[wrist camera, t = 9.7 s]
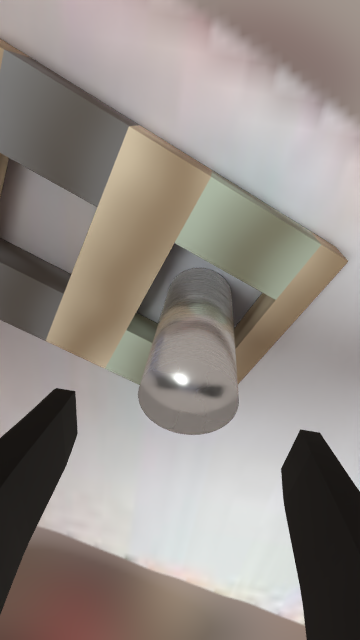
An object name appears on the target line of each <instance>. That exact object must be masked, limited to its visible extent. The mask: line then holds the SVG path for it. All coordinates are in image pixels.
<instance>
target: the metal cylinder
mask: <svg viewBox="0 0 360 640" xmlns="http://www.w3.org/2000/svg"><path fill="white" fill-rule="evenodd" d="M138 398H139V403H140V406H141V408H142V410H143V411H144V413H145V414H146V415H147V416H148V417H149V419H151V420H152V421H153V422H154V423H156V424H157V425H159V426H160V427H162V428H164V429H167V430H169V431H172V432H176V433H180V434H187V435H199V434H206V433H210V432H213V431H216V430H218V429H220V428H222V427H223V426H225V425H226V424H227V423H229V422H230V421H231V420H232V418H233V417H234V415H235V414H236V412H237V409H238V404H239V397H238V382H237V367H236V353H235V338H234V323H233V308H232V294H231V289H230V287H229V284H228V283H227V281H226V280H225V279H224V278H223V277H222V276H221V275H220V274H218V273H217V272H215V271H213V270H210V269H206V268H192V269H188V270H186V271H183V272H182V273H180V274H179V275H177V276H176V277H175V278H174V280H173V281H172V282H171V284H170V287H169V290H168V293H167V296H166V300H165V303H164V306H163V310H162V313H161V316H160V320H159V323H158V326H157V330H156V333H155V336H154V340H153V343H152V346H151V350H150V353H149V356H148V360H147V363H146V366H145V370H144V373H143V376H142V380H141V383H140V386H139V391H138Z"/></svg>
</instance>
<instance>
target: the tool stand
mask: <svg viewBox="0 0 360 640" xmlns="http://www.w3.org/2000/svg"><path fill="white" fill-rule="evenodd" d="M9 158H10V159H12V160H14V161H16V162H17V163H19V164H21V165H23V166H25V167H26V168H28V169H30V170H32V171H33V172H35V173H37V174H39V175H41V176H42V177H44V178H46V179H48V180H50V181H51V182H53V183H55V184H57V185H59V186H60V187H62V188H64V189H66V190H68V191H69V192H71V193H73V194H75V195H76V196H78V197H80V198H82V199H84V200H85V201H87V202H89V203H91V204H93V205H94V206H96V207H97V210H96V212H95V215H94V218H93V220H92V223H91V225H90V228H89V230H88V233H87V236H86V238H85V241H84V243H83V246H82V248H81V251H80V254H79V256H78V259H77V261H76V264H75V266H74V269H73V272H72V274H69V273H67V272H65V271H63V270H61V269H59V268H57V267H55V266H53V265H52V264H50V263H48V262H46V261H44V260H42V259H40V258H38V257H36V256H34V255H32V254H30V253H28V252H26V251H24V250H22V249H20V248H18V247H16V246H14V245H12V244H10V243H9V242H7V241H5V240H3V239H1V238H0V320H2V321H4V322H6V323H8V324H11V325H13V326H15V327H17V328H19V329H21V330H23V331H26V332H28V333H30V334H32V335H34V336H36V337H38V338H40V339H43V340H45V341H47V342H49V343H51V344H53V345H55V346H58V347H60V348H62V349H64V350H66V351H68V352H70V353H73V354H75V355H77V356H79V357H81V358H83V359H85V360H87V361H90V362H92V363H94V364H96V365H98V366H100V367H102V368H105V369H107V370H109V371H111V372H113V373H115V374H117V375H120V376H122V377H124V378H126V379H128V380H130V381H132V382H134V383H137V384H139V385H140V383H141V380H142V376H143V373H144V370H145V366H146V363H147V360H148V356H149V353H150V350H151V346H152V343H153V340H154V336H155V333H156V330H157V326H158V324H157V323H155V322H154V321H152V320H150V319H148V318H146V317H144V316H142V315H140V314H138V313H136V312H137V310H138V308H139V306H140V304H141V302H142V301H143V299H144V297H145V295H146V293H147V292H148V290H149V288H150V286H151V284H152V283H153V281H154V279H155V277H156V275H157V274H158V272H159V270H160V268H161V266H162V265H163V263H164V261H165V259H166V257H167V256H168V254H169V252H170V250H171V248H172V246H173V245H174V243H175V244H177V245H179V246H181V247H182V248H184V249H186V250H188V251H190V252H191V253H193V254H195V255H197V256H198V257H200V258H202V259H204V260H205V261H207V262H209V263H211V264H213V265H214V266H216V267H218V268H220V269H221V270H223V271H225V272H227V273H229V274H230V275H232V276H234V277H236V278H237V279H239V280H241V281H243V282H245V283H246V284H248V285H250V286H252V287H253V288H255V289H257V290H259V291H261V292H262V294H261V295H260V297H259V298H258V299H257V300H256V302H255V303H254V304H253V305H252V307H251V308H250V309H249V311H248V312H247V313H246V314H245V316H244V317H243V318H242V319H241V321H240V322H239V323H238V325H237V326H236V327H235V328H234V338H235V353H236V367H237V382H238V384H239V383H240V381H241V380H242V379H243V378H244V377H245V376H246V375H247V374H248V373H249V371H250V370H251V369H252V368H253V367H254V366H255V365H256V364H257V363H258V361H259V360H260V359H261V358H262V357H263V356H264V355H265V354H266V353H267V351H268V350H269V349H270V348H271V347H272V346H273V345H274V344H275V342H276V341H277V340H278V339H279V338H280V337H281V336H282V335H283V334H284V332H285V331H286V330H287V329H288V328H289V327H290V326H291V325H292V324H293V322H294V321H295V320H296V319H297V318H298V317H299V316H300V315H301V314H302V312H303V311H304V310H305V309H306V308H307V307H308V306H309V305H310V304H311V302H312V301H313V300H314V299H315V298H316V297H317V296H318V295H319V294H320V292H321V291H322V290H323V289H324V288H325V287H326V286H327V285H328V284H329V282H330V281H331V280H332V279H333V278H334V277H335V276H336V275H337V274H338V272H339V271H340V270H341V269H342V268H343V267H344V266H345V265H346V264H347V262H348V260H347V259H346V258H345V257H344V256H343V255H342V254H341V253H340V251H339V250H338V249H337V248H336V247H335V246H333V245H332V244H330V243H329V242H327V241H325V240H324V239H322V238H321V237H319V236H317V235H316V234H314V233H312V232H311V231H309V230H308V229H306V228H304V227H303V226H301V225H300V224H298V223H296V222H295V221H293V220H292V219H290V218H288V217H287V216H285V215H283V214H282V213H280V212H279V211H277V210H275V209H274V208H272V207H271V206H269V205H267V204H266V203H264V202H263V201H261V200H259V199H258V198H256V197H254V196H253V195H251V194H250V193H248V192H246V191H245V190H243V189H242V188H240V187H238V186H237V185H235V184H234V183H232V182H230V181H229V180H227V179H225V178H224V177H222V176H221V175H219V174H217V173H216V172H214V171H213V170H211V169H209V168H208V167H206V166H205V165H203V164H201V163H200V162H198V161H196V160H195V159H193V158H192V157H190V156H188V155H187V154H185V153H184V152H182V151H180V150H179V149H177V148H175V147H174V146H172V145H171V144H169V143H167V142H166V141H164V140H163V139H161V138H159V137H158V136H156V135H155V134H153V133H151V132H150V131H148V130H146V129H145V128H143V127H142V126H140V125H138V124H137V123H135V122H134V121H132V120H130V119H129V118H127V117H126V116H124V115H122V114H121V113H119V112H117V111H116V110H114V109H113V108H111V107H109V106H108V105H106V104H105V103H103V102H101V101H100V100H98V99H97V98H95V97H93V96H92V95H90V94H88V93H87V92H85V91H84V90H82V89H80V88H79V87H77V86H76V85H74V84H72V83H71V82H69V81H67V80H66V79H64V78H63V77H61V76H59V75H58V74H56V73H55V72H53V71H51V70H50V69H48V68H47V67H45V66H43V65H42V64H40V63H38V62H37V61H35V60H34V59H32V58H30V57H29V56H27V55H26V54H24V53H22V52H21V51H19V50H18V49H16V48H14V47H13V46H11V45H9V44H8V43H6V42H5V41H3V40H1V39H0V197H1V192H2V188H3V183H4V179H5V174H6V170H7V165H8V160H9Z"/></svg>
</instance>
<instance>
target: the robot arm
mask: <svg viewBox="0 0 360 640" xmlns="http://www.w3.org/2000/svg"><path fill="white" fill-rule="evenodd" d="M76 437H77V416H76V398H75V391H70V390H64V389H58V388H56V389H54V390H53V391H52V392H51V393H50V394H49V395H48V396H47V397H45V398H44V399H43V400H42V401H41V402H40V403H39V404H38V405H37V406H36V407H35V408H34V409H33V410H31V411H30V412H29V413H28V414H27V415H26V416H25V417H24V418H23V419H22V420H20V421H19V422H18V423H17V424H16V425H15V426H14V427H12V428H11V429H10V430H9V431H8V432H7V433H5V434H4V435H3V436H2V437H1V438H0V614H1V611H2V609H3V606H4V603H5V601H6V598H7V595H8V593H9V590H10V588H11V585H12V583H13V580H14V577H15V575H16V572H17V569H18V567H19V565H20V562H21V560H22V556H23V554H24V552H25V550H26V548H27V546H28V543H29V541H30V539H31V537H32V535H33V533H34V531H35V528H36V526H37V524H38V522H39V520H40V518H41V516H42V514H43V512H44V510H45V508H46V506H47V504H48V502H49V500H50V498H51V496H52V494H53V492H54V490H55V488H56V485H57V483H58V481H59V479H60V477H61V475H62V473H63V471H64V469H65V467H66V465H67V462H68V459H69V456H70V454H71V451H72V448H73V445H74V442H75V440H76ZM281 473H282V488H283V499H284V506H285V512H286V517H287V522H288V528H289V533H290V538H291V543H292V548H293V553H294V558H295V563H296V568H297V573H298V579H299V584H300V590H301V596H302V602H303V610H304V619H305V628H306V637H307V640H360V491H359V490H358V488H357V487H356V486H355V484H354V483H353V481H352V480H351V478H350V477H349V475H348V474H347V472H346V471H345V470H344V468H343V467H342V465H341V464H340V462H339V461H338V459H337V458H336V456H335V455H334V453H333V452H332V450H331V449H330V447H329V446H328V444H327V443H326V441H325V440H324V438H323V437H322V435H321V434H320V433H318V432H312V431H306V430H300V431H299V433H298V436H297V438H296V440H295V442H294V444H293V446H292V448H291V450H290V452H289V454H288V456H287V458H286V460H285V462H284V464H283V466H282V468H281Z"/></svg>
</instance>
